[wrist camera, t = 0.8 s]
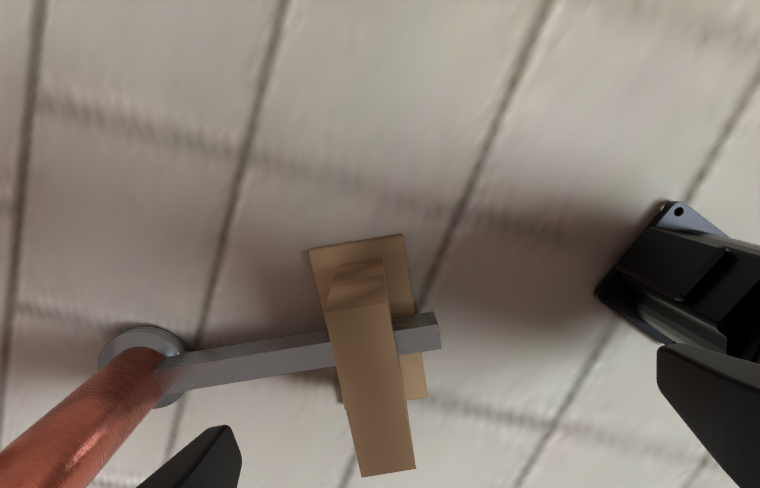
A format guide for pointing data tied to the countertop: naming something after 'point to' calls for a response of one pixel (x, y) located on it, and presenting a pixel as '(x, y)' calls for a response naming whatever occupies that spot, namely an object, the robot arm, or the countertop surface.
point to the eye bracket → (371, 346)
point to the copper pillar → (161, 394)
